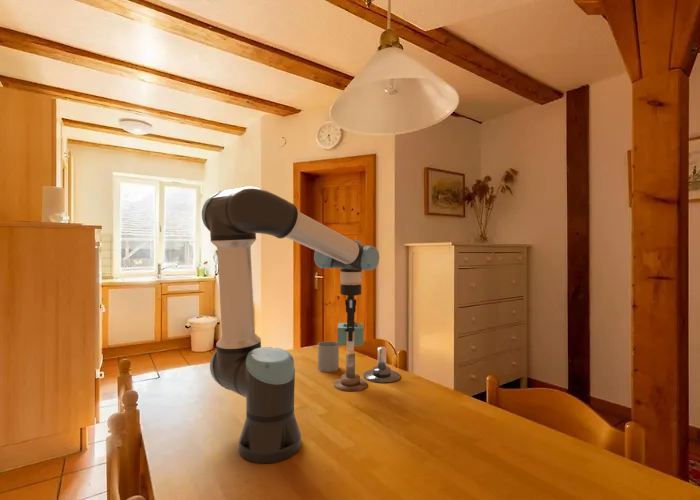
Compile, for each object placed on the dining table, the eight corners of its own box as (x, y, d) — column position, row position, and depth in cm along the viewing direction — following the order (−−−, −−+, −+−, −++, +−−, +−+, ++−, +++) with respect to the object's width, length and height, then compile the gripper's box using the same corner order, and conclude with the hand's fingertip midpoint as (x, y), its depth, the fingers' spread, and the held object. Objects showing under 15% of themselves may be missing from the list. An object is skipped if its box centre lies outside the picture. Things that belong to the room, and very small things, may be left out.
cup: (316, 366, 158) (316, 342, 157) (335, 364, 160) (335, 340, 160) (320, 372, 150) (320, 347, 149) (340, 370, 152) (340, 345, 152)
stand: (367, 391, 131) (368, 359, 131) (333, 391, 131) (333, 359, 131) (366, 379, 143) (366, 349, 143) (334, 378, 143) (334, 349, 143)
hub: (402, 383, 139) (402, 352, 139) (364, 382, 139) (364, 352, 139) (397, 370, 153) (397, 343, 153) (362, 370, 153) (362, 342, 153)
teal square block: (363, 345, 132) (363, 328, 132) (337, 345, 132) (337, 328, 132) (362, 339, 141) (362, 323, 141) (338, 339, 141) (338, 322, 141)
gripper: (362, 286, 125) (361, 355, 126) (360, 281, 147) (359, 339, 147) (339, 286, 125) (338, 354, 126) (341, 280, 147) (340, 339, 147)
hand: (350, 346), depth 136 cm, fingers closed on teal square block, 9 cm apart
